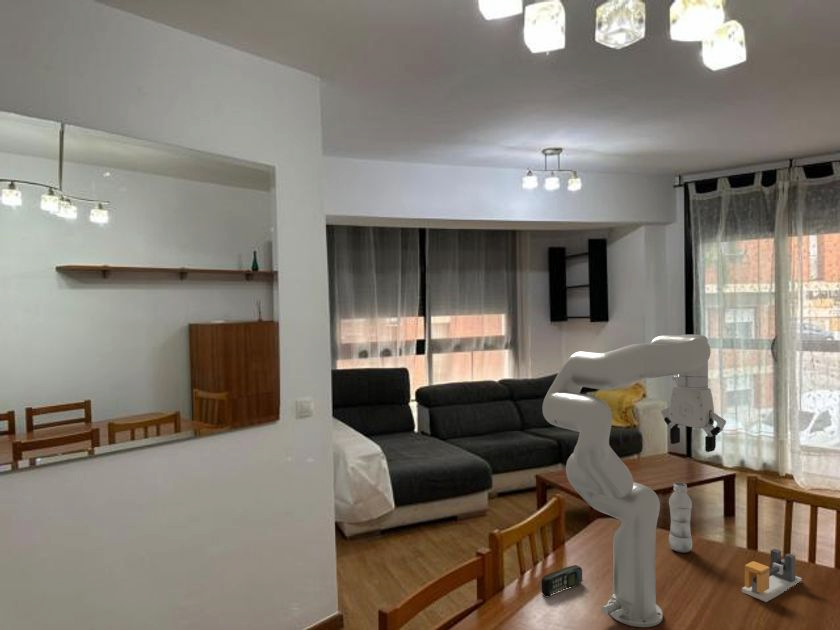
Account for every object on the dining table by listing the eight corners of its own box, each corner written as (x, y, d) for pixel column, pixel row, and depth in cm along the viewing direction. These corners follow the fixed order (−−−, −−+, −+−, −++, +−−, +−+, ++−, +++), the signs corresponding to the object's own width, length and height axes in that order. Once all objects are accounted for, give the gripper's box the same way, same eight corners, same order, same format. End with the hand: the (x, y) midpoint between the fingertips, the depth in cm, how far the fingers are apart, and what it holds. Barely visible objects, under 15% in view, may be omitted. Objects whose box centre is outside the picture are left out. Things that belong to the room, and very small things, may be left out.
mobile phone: (547, 581, 145) (587, 563, 153) (538, 576, 147) (578, 559, 155) (547, 600, 145) (587, 581, 153) (539, 595, 148) (579, 577, 156)
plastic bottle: (687, 545, 174) (687, 480, 173) (696, 555, 167) (695, 488, 167) (665, 545, 175) (665, 480, 174) (673, 555, 168) (672, 488, 167)
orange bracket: (761, 593, 142) (761, 571, 142) (744, 586, 145) (744, 565, 145) (769, 588, 144) (769, 567, 144) (753, 581, 148) (753, 561, 147)
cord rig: (766, 602, 142) (766, 572, 141) (741, 591, 147) (741, 563, 146) (801, 581, 151) (801, 553, 151) (777, 572, 156) (777, 545, 156)
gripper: (653, 379, 154) (654, 442, 155) (716, 387, 140) (716, 456, 140) (670, 377, 158) (671, 438, 159) (733, 384, 144) (733, 452, 144)
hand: (692, 447), depth 149 cm, fingers open, 9 cm apart
